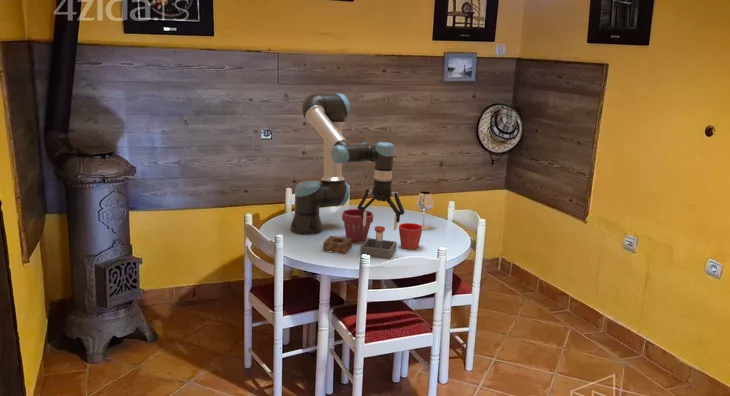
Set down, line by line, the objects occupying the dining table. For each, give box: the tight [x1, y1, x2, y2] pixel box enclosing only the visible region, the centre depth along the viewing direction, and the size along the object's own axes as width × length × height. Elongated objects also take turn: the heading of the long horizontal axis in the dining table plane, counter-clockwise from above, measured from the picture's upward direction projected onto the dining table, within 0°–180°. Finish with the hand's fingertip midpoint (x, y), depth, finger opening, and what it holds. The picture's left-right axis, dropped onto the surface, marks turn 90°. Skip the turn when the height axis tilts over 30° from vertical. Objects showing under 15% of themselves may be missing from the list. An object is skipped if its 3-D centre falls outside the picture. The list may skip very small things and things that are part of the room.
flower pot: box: [398, 222, 423, 250], centre depth 274 cm, size 11×11×10 cm
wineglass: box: [416, 191, 434, 230], centre depth 304 cm, size 8×8×18 cm
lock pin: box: [374, 225, 386, 249], centre depth 263 cm, size 4×4×11 cm
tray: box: [359, 237, 398, 260], centre depth 264 cm, size 13×13×4 cm
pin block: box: [322, 235, 353, 255], centre depth 266 cm, size 10×10×4 cm
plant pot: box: [341, 208, 374, 243], centre depth 280 cm, size 14×14×13 cm
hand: (379, 227), depth 262 cm, fingers open, 13 cm apart
